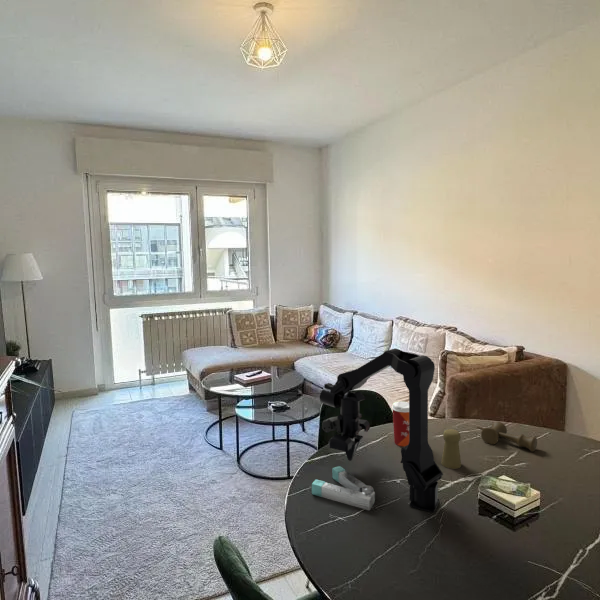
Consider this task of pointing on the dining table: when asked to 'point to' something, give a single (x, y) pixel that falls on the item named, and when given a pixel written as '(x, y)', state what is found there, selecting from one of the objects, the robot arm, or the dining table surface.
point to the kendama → (506, 436)
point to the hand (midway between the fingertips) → (350, 460)
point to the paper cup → (401, 423)
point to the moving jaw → (346, 479)
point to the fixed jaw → (345, 494)
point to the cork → (451, 449)
